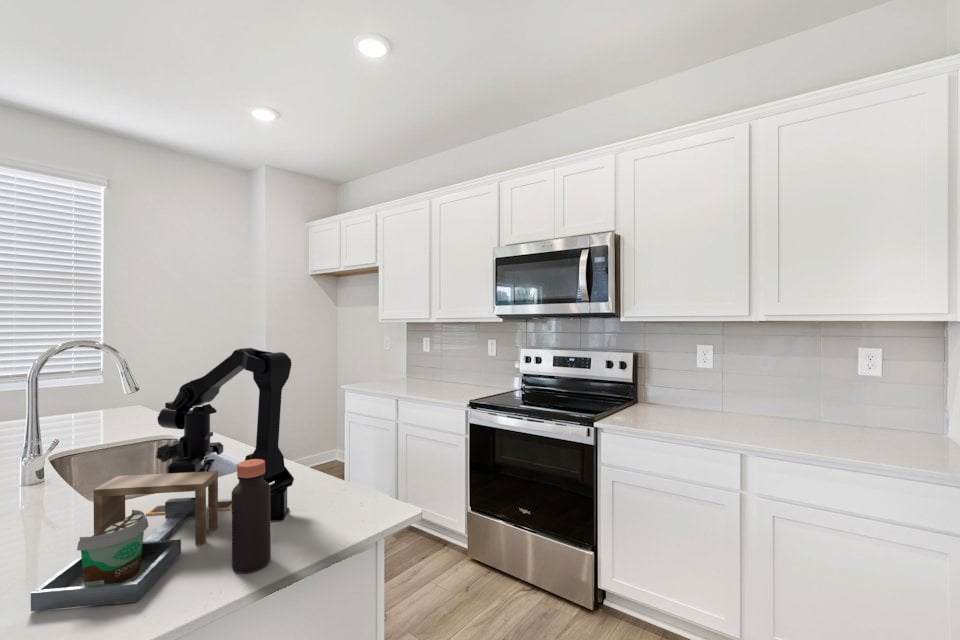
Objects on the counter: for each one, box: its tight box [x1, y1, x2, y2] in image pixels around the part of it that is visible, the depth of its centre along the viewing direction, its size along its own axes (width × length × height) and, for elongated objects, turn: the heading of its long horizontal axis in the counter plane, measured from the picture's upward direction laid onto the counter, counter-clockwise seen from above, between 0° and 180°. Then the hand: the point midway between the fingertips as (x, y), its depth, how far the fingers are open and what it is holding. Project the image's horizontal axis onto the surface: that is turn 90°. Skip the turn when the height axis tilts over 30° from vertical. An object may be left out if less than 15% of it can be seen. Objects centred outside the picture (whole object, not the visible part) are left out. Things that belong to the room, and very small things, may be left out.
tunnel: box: [93, 470, 219, 546], centre depth 99 cm, size 21×8×13 cm, turn 100°
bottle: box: [231, 459, 272, 574], centre depth 89 cm, size 7×7×20 cm
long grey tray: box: [30, 497, 195, 612], centre depth 93 cm, size 16×36×4 cm, turn 10°
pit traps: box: [145, 500, 232, 516], centre depth 115 cm, size 19×5×1 cm, turn 100°
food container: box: [76, 509, 149, 586], centre depth 85 cm, size 12×6×10 cm, turn 177°
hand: (197, 490), depth 118 cm, fingers closed
